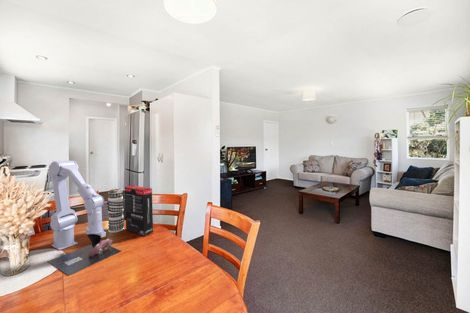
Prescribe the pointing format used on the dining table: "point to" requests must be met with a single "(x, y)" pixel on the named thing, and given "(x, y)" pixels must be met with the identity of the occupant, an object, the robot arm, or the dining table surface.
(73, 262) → the panel
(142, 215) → the graphics card box
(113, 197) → the decorative candle
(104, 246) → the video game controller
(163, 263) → the dining table surface
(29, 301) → the dining table surface
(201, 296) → the dining table surface
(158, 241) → the dining table surface
